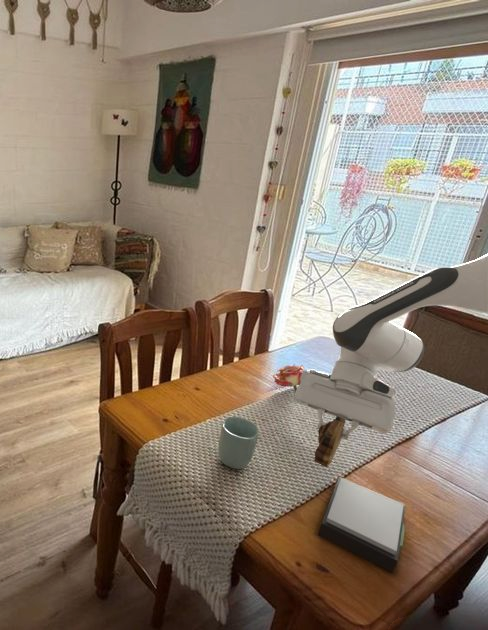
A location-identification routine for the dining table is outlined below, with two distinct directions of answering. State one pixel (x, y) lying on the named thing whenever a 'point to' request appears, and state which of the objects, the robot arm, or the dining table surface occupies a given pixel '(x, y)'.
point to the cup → (237, 442)
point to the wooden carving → (329, 441)
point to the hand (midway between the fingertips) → (332, 434)
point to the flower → (289, 376)
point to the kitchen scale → (365, 523)
